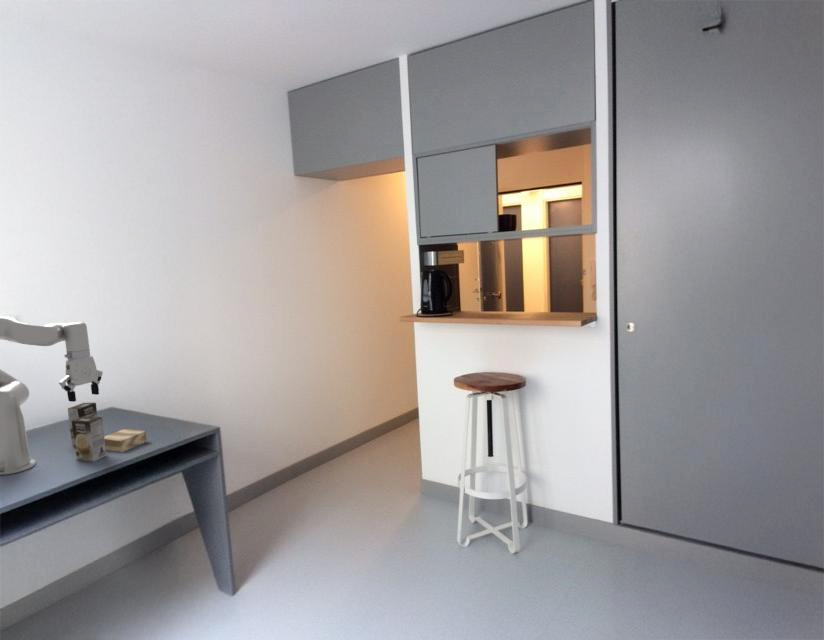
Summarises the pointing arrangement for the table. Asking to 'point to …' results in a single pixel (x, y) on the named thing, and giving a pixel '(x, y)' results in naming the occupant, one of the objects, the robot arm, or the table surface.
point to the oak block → (124, 439)
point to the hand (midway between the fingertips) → (84, 397)
